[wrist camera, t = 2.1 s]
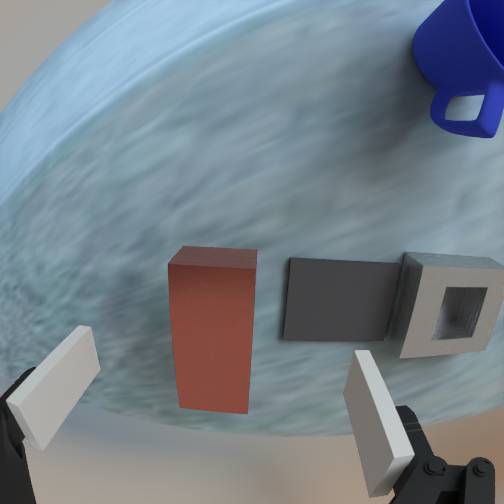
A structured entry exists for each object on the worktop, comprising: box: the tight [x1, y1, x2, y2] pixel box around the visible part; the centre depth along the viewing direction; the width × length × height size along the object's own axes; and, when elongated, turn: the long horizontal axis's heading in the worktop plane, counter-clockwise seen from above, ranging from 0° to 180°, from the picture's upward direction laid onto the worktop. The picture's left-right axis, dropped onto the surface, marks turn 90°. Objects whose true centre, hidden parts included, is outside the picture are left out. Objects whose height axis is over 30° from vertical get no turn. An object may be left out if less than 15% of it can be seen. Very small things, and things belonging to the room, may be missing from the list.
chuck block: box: [386, 252, 504, 359], centre depth 23 cm, size 10×8×4 cm
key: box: [168, 246, 257, 414], centre depth 20 cm, size 4×9×10 cm, turn 177°
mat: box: [283, 258, 400, 341], centre depth 25 cm, size 9×7×1 cm
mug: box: [413, 0, 504, 138], centre depth 15 cm, size 8×12×10 cm
